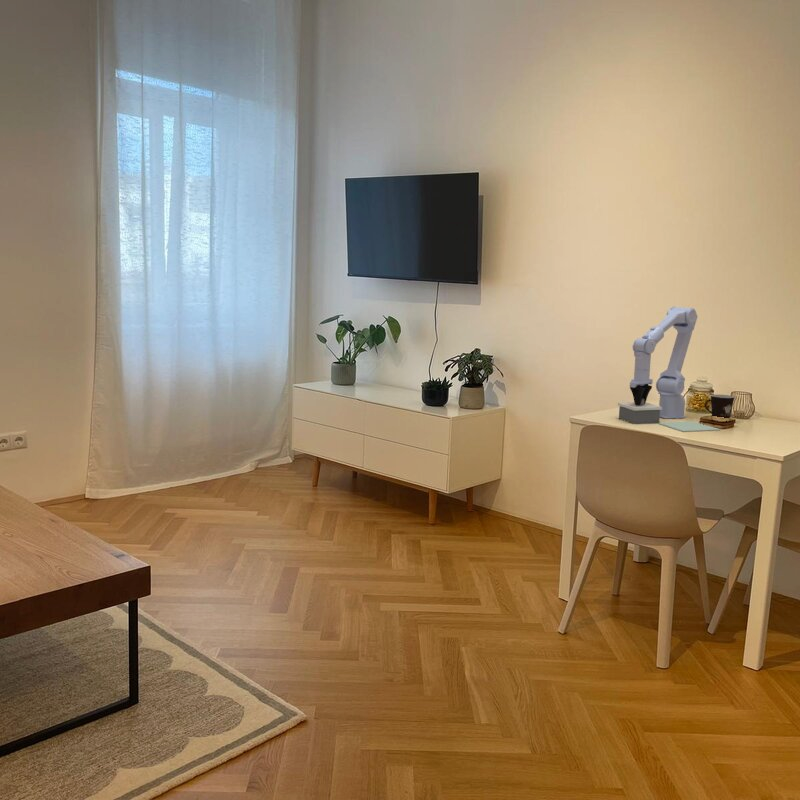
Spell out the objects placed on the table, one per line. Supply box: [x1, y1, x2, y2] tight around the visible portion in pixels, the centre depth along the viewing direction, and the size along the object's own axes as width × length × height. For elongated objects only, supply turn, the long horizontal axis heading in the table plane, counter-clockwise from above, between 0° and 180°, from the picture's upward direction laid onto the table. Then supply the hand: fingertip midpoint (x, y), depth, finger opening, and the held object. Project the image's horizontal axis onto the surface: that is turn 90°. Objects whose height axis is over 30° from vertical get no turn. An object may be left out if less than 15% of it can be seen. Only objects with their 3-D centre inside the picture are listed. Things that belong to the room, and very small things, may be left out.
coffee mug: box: [704, 394, 735, 419], centre depth 328 cm, size 12×9×10 cm
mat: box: [657, 421, 721, 433], centre depth 315 cm, size 16×16×1 cm
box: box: [618, 406, 661, 425], centre depth 325 cm, size 11×11×5 cm
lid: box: [617, 398, 662, 411], centre depth 325 cm, size 12×12×4 cm
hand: (639, 404), depth 325 cm, fingers closed on lid, 3 cm apart
